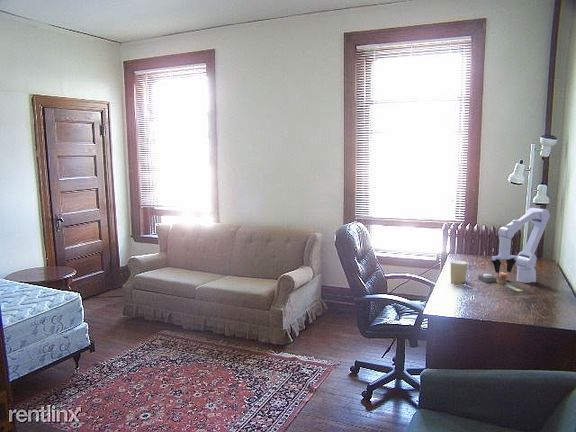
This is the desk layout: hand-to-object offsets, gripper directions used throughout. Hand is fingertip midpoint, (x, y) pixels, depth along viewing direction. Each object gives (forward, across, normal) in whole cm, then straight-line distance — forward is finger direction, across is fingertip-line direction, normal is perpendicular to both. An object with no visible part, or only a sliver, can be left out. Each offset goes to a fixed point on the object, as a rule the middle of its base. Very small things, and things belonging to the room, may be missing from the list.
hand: (503, 272), depth 251 cm
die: (+7, -6, -7) cm, 11 cm away
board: (+8, 0, +2) cm, 8 cm away
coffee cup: (+8, +20, -12) cm, 25 cm away
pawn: (+7, 0, 0) cm, 7 cm away
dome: (+6, +4, -7) cm, 11 cm away
